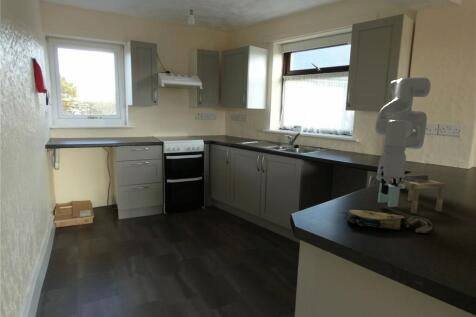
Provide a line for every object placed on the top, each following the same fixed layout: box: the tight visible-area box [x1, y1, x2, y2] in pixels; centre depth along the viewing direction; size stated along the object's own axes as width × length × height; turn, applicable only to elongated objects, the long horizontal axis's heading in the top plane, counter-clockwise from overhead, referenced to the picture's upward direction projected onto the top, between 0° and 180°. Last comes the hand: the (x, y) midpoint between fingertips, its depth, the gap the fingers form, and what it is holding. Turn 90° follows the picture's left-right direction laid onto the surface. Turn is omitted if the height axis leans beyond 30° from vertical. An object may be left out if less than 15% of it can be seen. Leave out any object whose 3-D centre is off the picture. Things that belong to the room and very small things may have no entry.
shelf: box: [385, 174, 446, 214], centre depth 131 cm, size 16×15×14 cm
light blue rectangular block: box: [377, 183, 401, 208], centre depth 125 cm, size 7×4×8 cm, turn 17°
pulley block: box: [340, 209, 435, 234], centre depth 106 cm, size 14×6×30 cm
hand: (388, 193), depth 125 cm, fingers closed on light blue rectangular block, 4 cm apart
